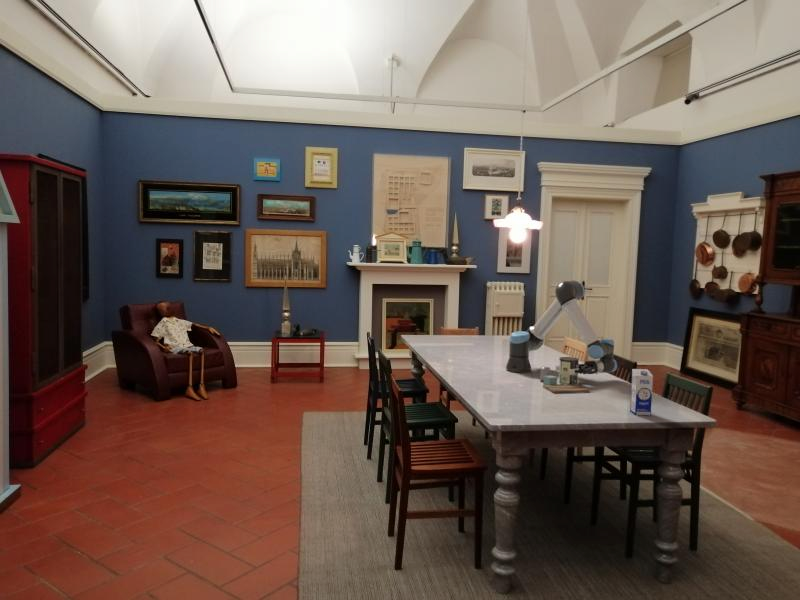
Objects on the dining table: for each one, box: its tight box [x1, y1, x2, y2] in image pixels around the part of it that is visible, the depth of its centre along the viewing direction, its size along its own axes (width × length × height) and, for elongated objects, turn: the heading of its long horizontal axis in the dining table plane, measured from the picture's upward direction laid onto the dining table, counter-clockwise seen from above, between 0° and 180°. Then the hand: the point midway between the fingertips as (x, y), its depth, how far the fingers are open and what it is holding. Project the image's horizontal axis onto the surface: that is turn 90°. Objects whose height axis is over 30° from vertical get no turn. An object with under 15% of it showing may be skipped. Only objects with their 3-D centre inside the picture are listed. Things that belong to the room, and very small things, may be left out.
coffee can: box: [558, 356, 580, 385], centre depth 318 cm, size 10×10×14 cm
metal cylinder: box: [539, 366, 551, 384], centre depth 322 cm, size 5×5×8 cm
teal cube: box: [542, 374, 558, 386], centre depth 313 cm, size 5×5×5 cm
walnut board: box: [542, 384, 590, 394], centre depth 303 cm, size 13×20×1 cm, turn 101°
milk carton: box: [629, 368, 654, 417], centre depth 260 cm, size 7×7×20 cm
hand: (562, 369), depth 316 cm, fingers closed on coffee can, 10 cm apart
